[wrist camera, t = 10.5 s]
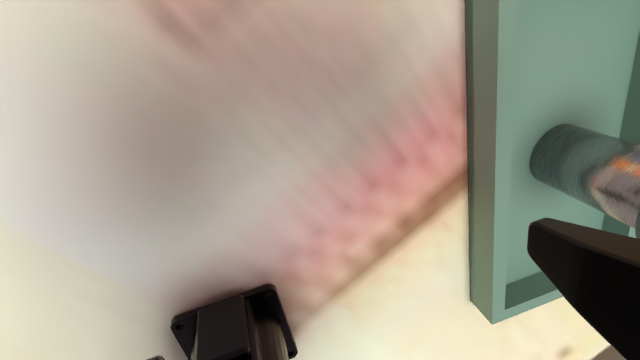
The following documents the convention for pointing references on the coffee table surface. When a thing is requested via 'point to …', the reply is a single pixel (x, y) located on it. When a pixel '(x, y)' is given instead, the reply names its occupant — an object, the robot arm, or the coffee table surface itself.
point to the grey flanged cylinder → (591, 170)
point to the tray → (538, 127)
